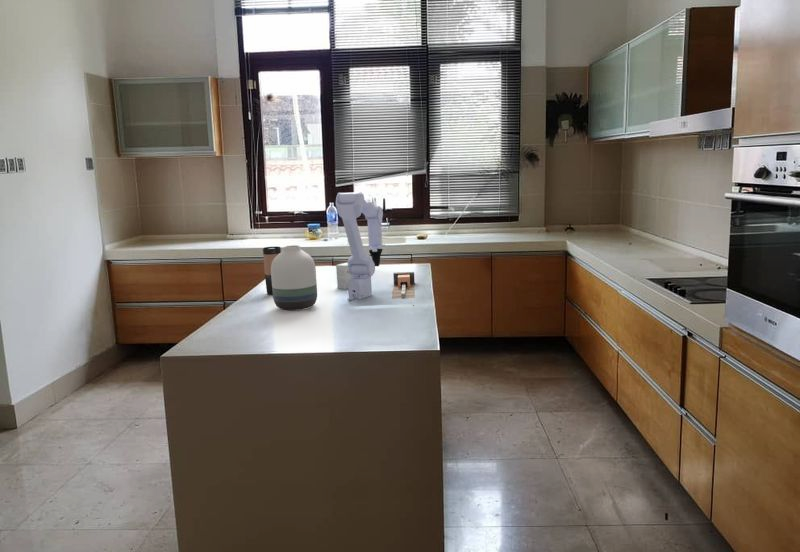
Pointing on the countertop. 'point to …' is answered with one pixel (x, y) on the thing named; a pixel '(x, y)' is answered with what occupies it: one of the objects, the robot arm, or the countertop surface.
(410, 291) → the rail board
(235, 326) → the countertop surface
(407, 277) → the slider block
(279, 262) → the vase
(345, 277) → the small box
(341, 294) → the countertop surface
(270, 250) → the travel mug
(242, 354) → the countertop surface
